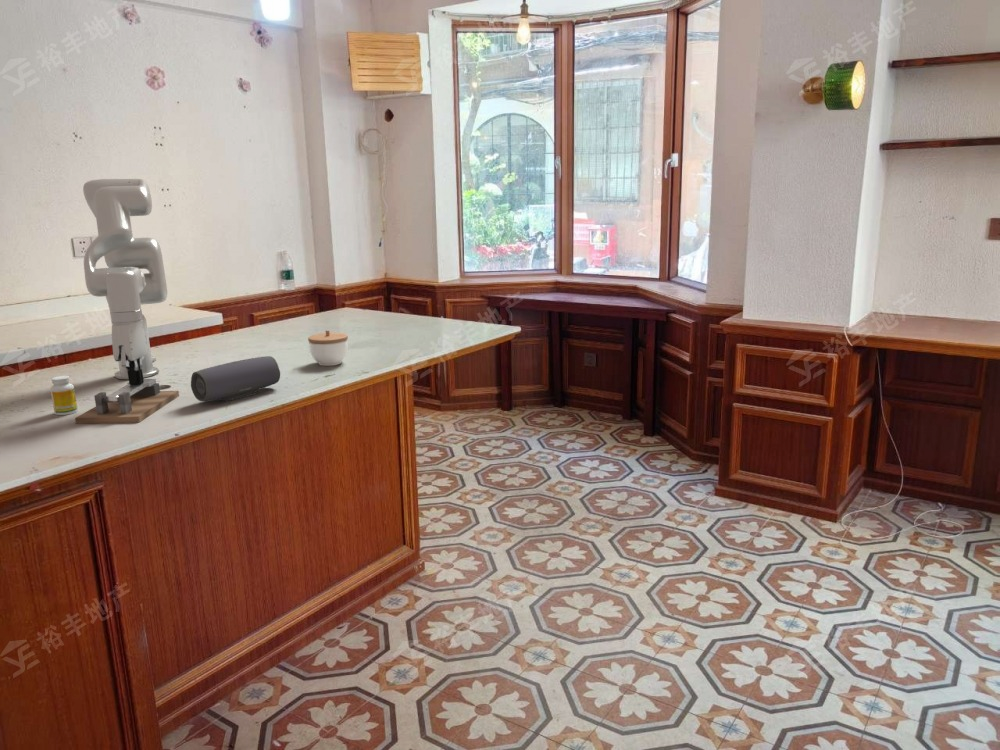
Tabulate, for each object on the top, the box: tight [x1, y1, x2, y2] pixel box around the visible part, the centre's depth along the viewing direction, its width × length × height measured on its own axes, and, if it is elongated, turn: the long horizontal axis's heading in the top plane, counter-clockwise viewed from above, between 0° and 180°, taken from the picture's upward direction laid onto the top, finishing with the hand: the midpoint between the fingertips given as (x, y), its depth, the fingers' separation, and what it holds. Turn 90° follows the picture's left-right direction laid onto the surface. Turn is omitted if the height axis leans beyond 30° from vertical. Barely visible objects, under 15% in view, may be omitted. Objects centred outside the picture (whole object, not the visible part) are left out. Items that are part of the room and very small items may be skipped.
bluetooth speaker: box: [190, 355, 281, 402], centre depth 205 cm, size 23×9×10 cm, turn 141°
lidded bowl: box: [307, 329, 349, 367], centre depth 242 cm, size 13×13×11 cm
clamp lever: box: [103, 378, 157, 403], centre depth 196 cm, size 19×6×2 cm, turn 0°
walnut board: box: [74, 390, 180, 425], centre depth 196 cm, size 24×16×6 cm, turn 0°
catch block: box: [131, 382, 161, 396], centre depth 205 cm, size 3×7×3 cm, turn 91°
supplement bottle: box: [50, 375, 79, 416], centre depth 193 cm, size 5×5×10 cm
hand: (136, 383), depth 200 cm, fingers closed
